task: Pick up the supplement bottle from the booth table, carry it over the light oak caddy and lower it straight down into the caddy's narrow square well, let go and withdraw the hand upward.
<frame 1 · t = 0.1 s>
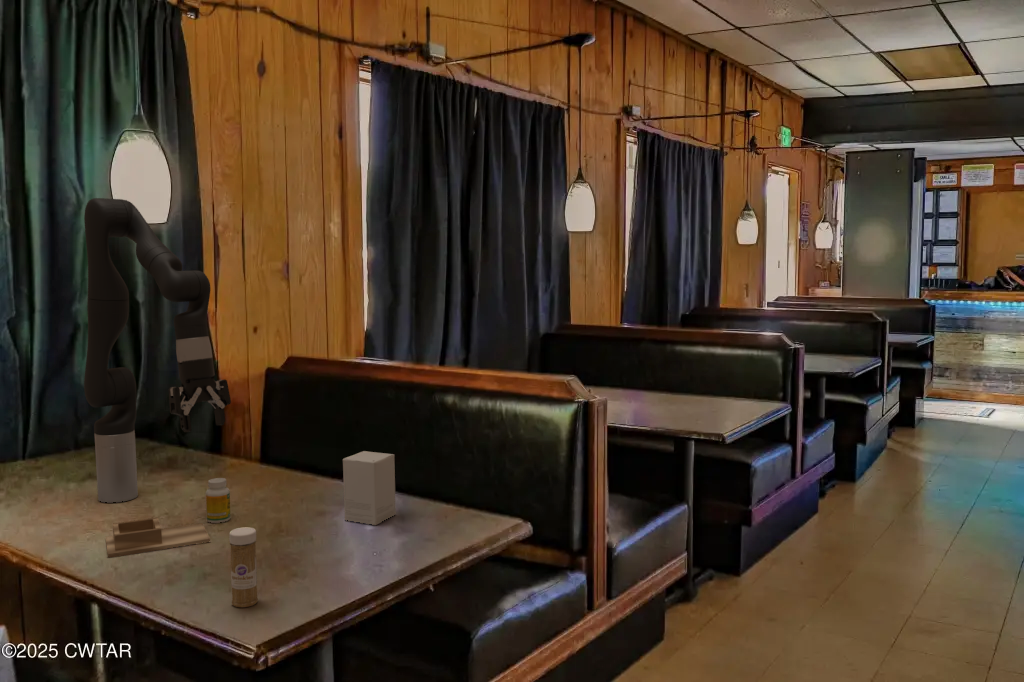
hand: (204, 428, 194), 22 cm above the table, tool pointing down, fingers open, 8 cm apart
sprinkles bottle: (245, 604, 152), on the table
supplement bottle: (218, 520, 199), on the table
well: (137, 544, 183), on the table
supplement box: (370, 518, 200), on the table
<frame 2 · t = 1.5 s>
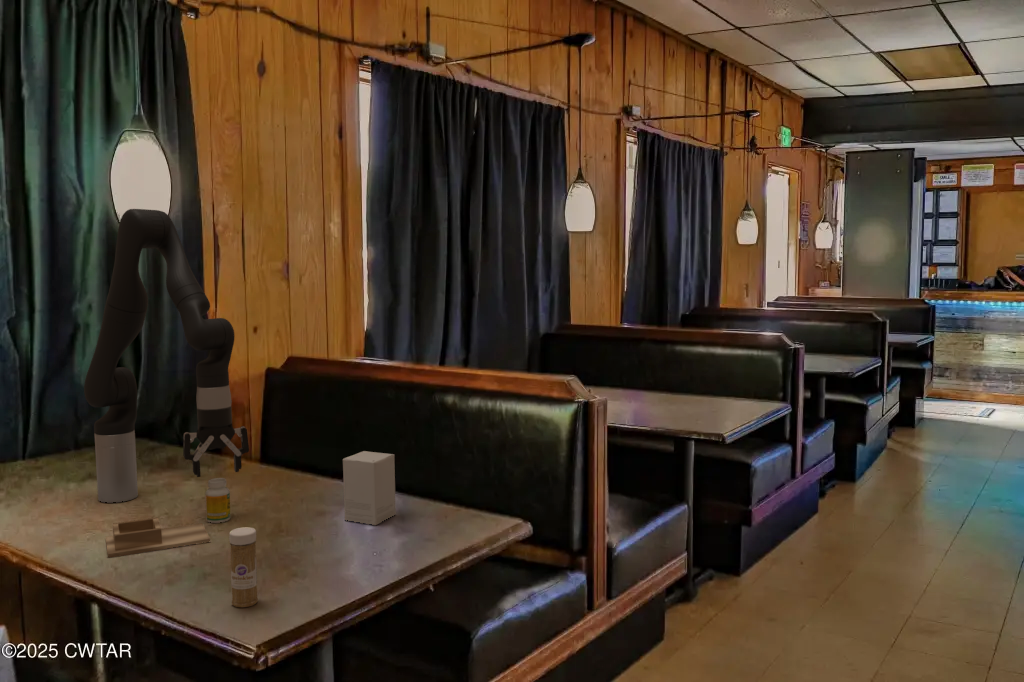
hand: (217, 473, 197), 11 cm above the table, tool pointing down, fingers open, 8 cm apart
nothing on the table moved.
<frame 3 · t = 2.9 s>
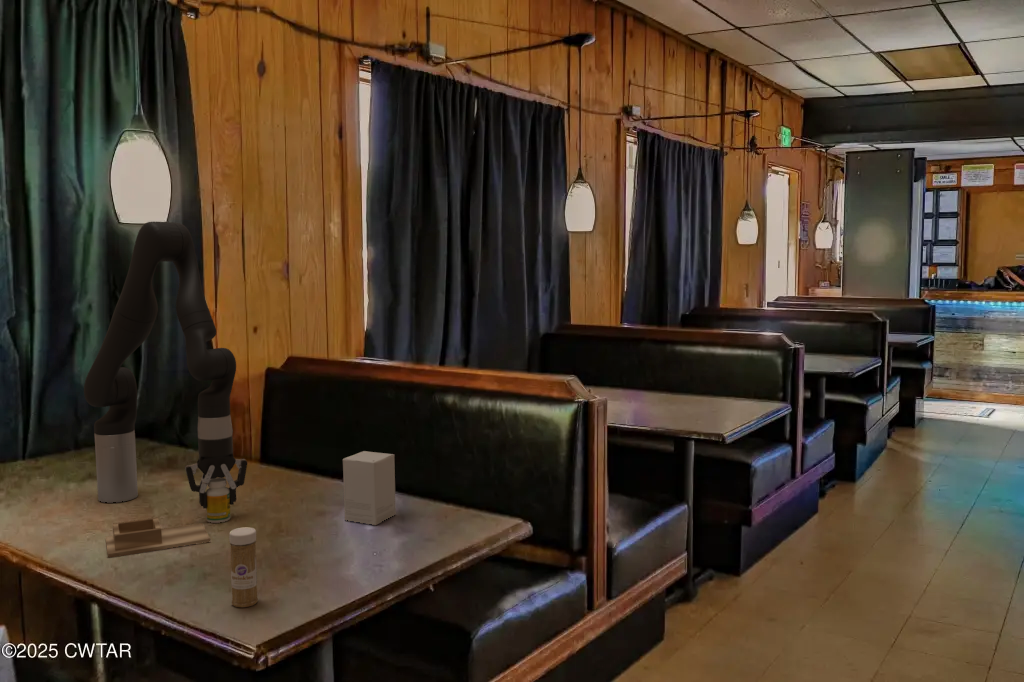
hand: (218, 505, 198), 4 cm above the table, tool pointing down, fingers closed on supplement bottle, 5 cm apart
supplement bottle: (218, 520, 199), on the table, touching gripper
everything else where it was.
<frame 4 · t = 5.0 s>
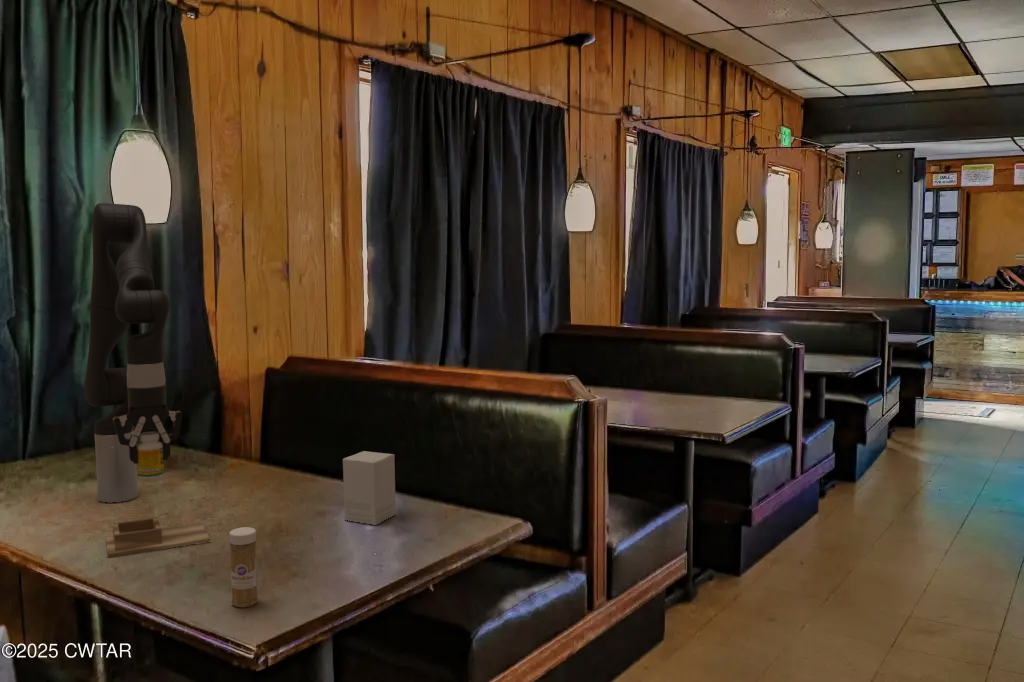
hand: (150, 460, 183), 18 cm above the table, tool pointing down, fingers closed on supplement bottle, 5 cm apart
supplement bottle: (151, 477, 184), point 14 cm above the table, touching gripper
everything else where it was.
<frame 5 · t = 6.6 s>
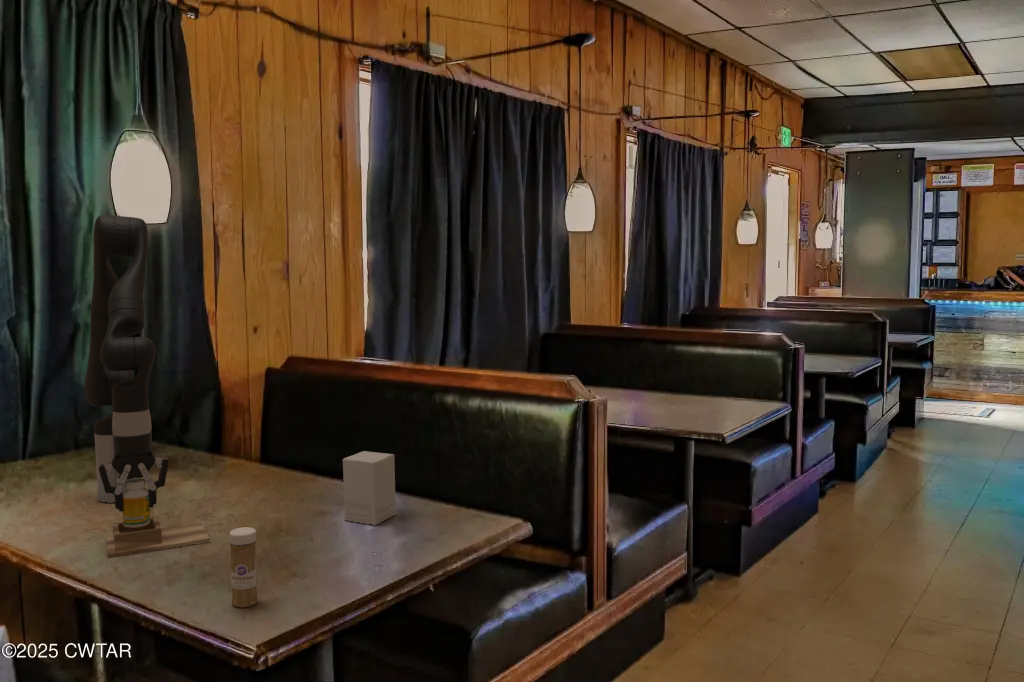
hand: (136, 508, 182), 8 cm above the table, tool pointing down, fingers closed on supplement bottle, 5 cm apart
supplement bottle: (137, 525, 182), point 4 cm above the table, touching gripper
everything else where it was.
when the fingers open (5 cm above the table, at t = 7.6 s): supplement bottle drops 1 cm, resting on well.
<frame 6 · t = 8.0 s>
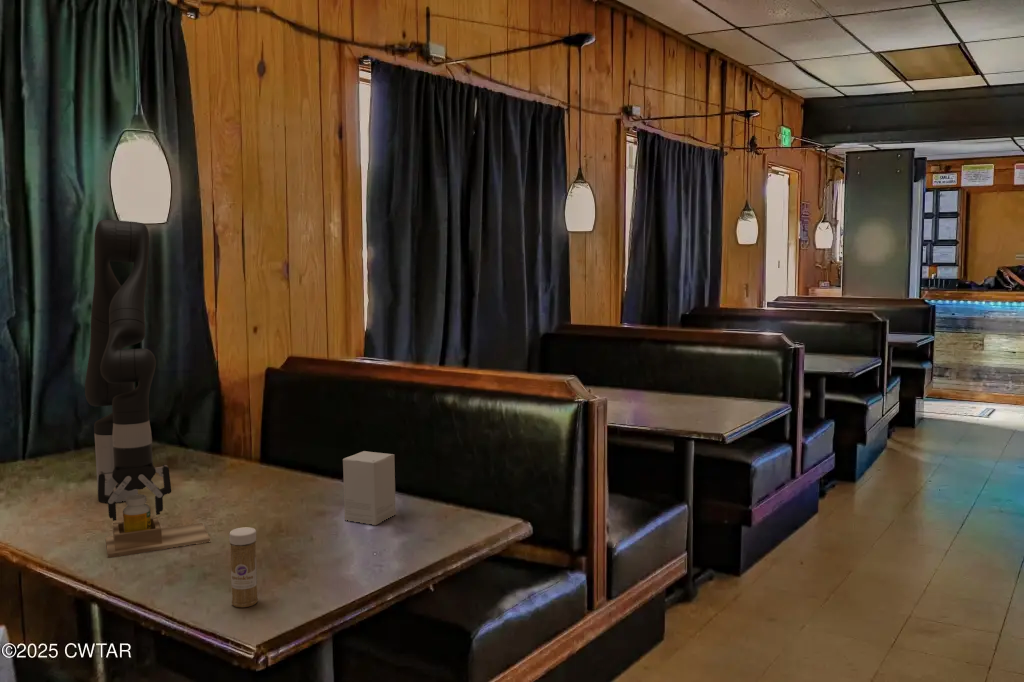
hand: (136, 516, 182), 6 cm above the table, tool pointing down, fingers open, 8 cm apart
supplement bottle: (138, 541, 183), point 1 cm above the table, touching well
everything else where it was.
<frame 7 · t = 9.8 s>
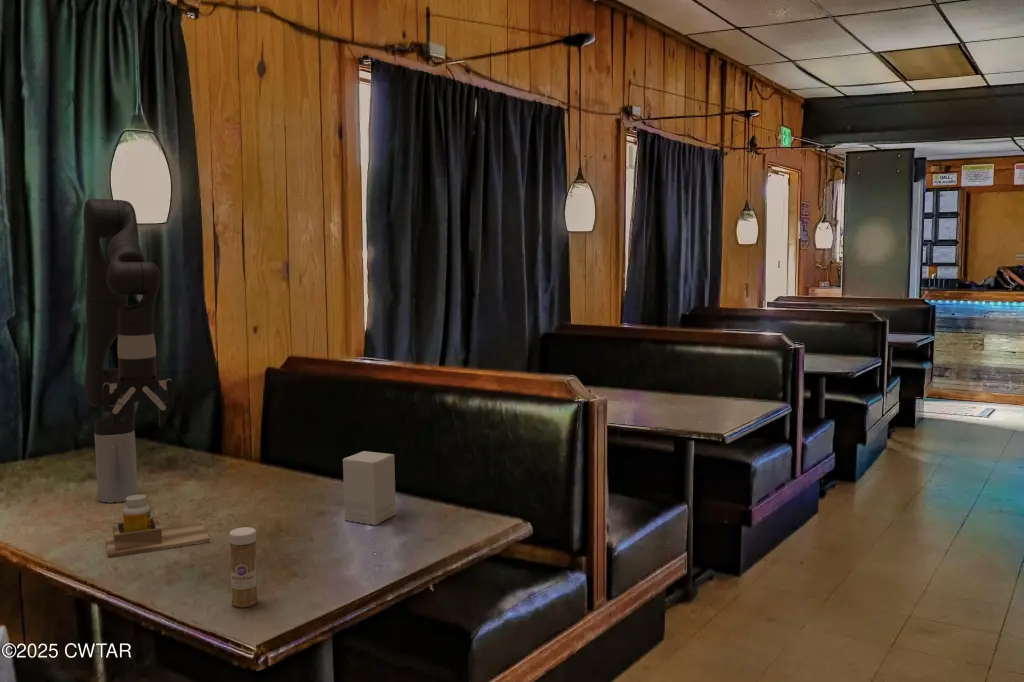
hand: (140, 428, 185), 24 cm above the table, tool pointing down, fingers open, 8 cm apart
nothing on the table moved.
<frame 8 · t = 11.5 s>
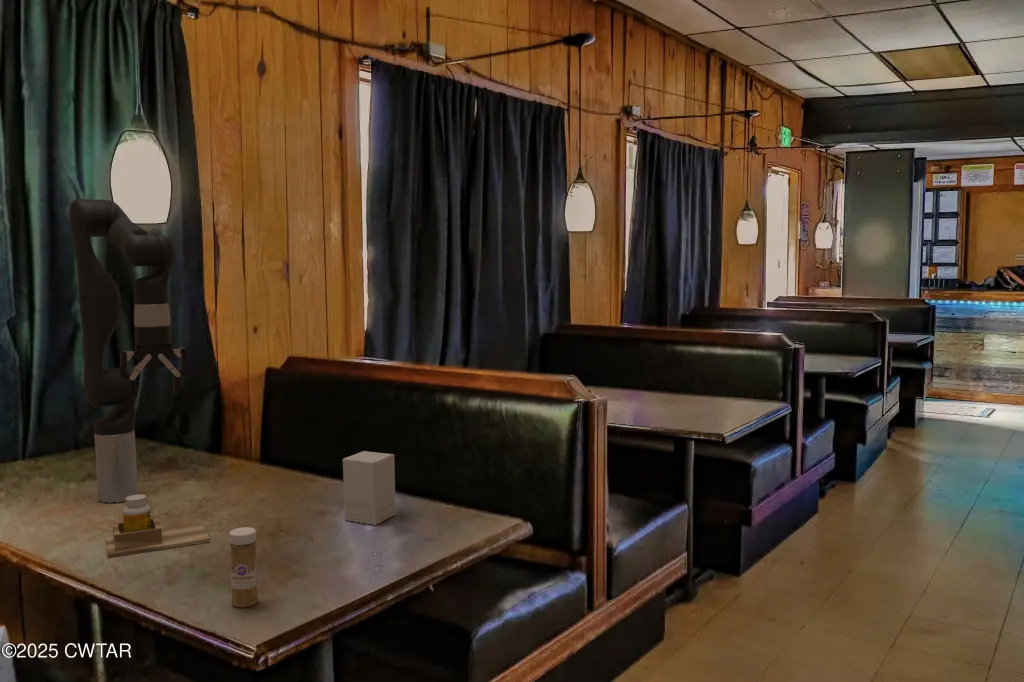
hand: (155, 394, 193), 30 cm above the table, tool pointing down, fingers open, 8 cm apart
nothing on the table moved.
at the end: supplement bottle 0.1 cm off-centre on the well, point 0.6 cm above the well's base; supplement bottle tilted 0°; the gripper is holding nothing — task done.
